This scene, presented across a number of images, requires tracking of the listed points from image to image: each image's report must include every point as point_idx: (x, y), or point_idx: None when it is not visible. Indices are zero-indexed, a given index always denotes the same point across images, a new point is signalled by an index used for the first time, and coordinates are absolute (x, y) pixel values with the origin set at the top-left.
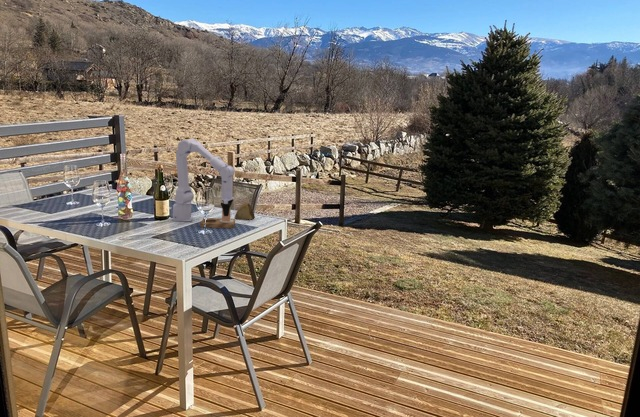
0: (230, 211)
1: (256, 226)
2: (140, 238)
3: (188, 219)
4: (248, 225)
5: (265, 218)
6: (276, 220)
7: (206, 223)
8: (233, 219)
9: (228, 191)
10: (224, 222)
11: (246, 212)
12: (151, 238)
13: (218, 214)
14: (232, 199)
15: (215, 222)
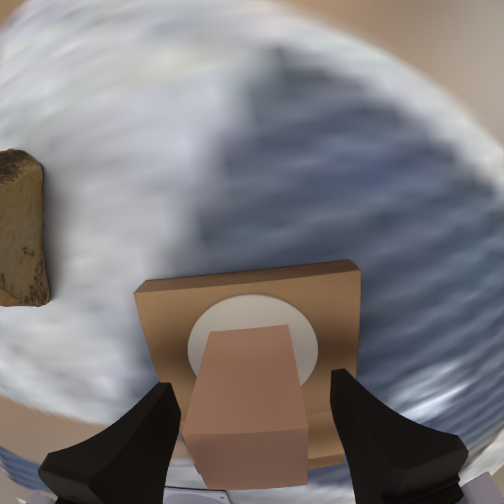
0: (205, 386)
1: (246, 61)
2: None
3: (213, 500)
4: (223, 136)
5: (6, 84)
6: (50, 3)
7: (340, 443)
8: (163, 305)
9: None
10: (314, 358)
11: (9, 211)
12: (463, 474)
13: (27, 391)
14: (58, 481)
15: (307, 413)
